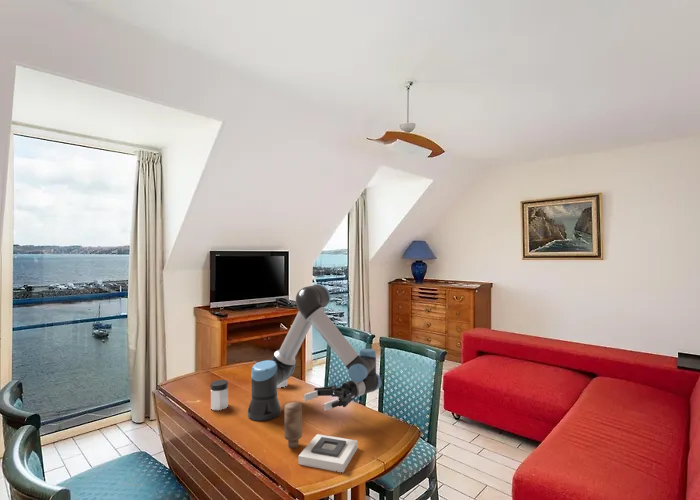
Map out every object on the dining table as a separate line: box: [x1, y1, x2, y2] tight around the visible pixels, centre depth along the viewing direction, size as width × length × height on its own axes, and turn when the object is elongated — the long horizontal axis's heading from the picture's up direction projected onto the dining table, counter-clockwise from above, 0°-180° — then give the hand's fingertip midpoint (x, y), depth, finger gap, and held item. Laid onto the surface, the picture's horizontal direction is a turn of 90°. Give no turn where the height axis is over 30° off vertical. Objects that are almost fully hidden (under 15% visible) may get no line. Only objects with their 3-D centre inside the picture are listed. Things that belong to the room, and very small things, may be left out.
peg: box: [284, 401, 303, 449], centre depth 150 cm, size 7×7×16 cm
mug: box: [277, 379, 288, 389], centre depth 215 cm, size 12×8×12 cm
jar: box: [209, 379, 229, 411], centre depth 187 cm, size 9×8×12 cm
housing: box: [297, 433, 359, 474], centre depth 143 cm, size 17×17×4 cm
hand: (314, 402), depth 157 cm, fingers open, 13 cm apart
